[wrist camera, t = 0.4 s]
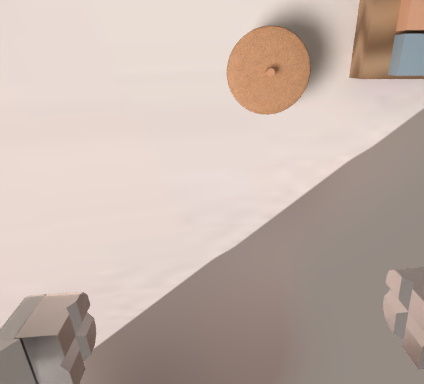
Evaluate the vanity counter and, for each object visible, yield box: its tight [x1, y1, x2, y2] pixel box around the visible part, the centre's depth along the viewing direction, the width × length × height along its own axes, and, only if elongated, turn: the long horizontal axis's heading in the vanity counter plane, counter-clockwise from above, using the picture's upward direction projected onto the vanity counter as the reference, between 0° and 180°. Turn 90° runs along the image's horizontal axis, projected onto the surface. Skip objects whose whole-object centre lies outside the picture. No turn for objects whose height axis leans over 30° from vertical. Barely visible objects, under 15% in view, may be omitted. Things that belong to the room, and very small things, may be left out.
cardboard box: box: [349, 0, 424, 79], centre depth 47 cm, size 11×12×4 cm
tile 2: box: [388, 34, 424, 76], centre depth 44 cm, size 5×5×2 cm
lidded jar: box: [227, 26, 310, 114], centre depth 46 cm, size 11×11×9 cm
